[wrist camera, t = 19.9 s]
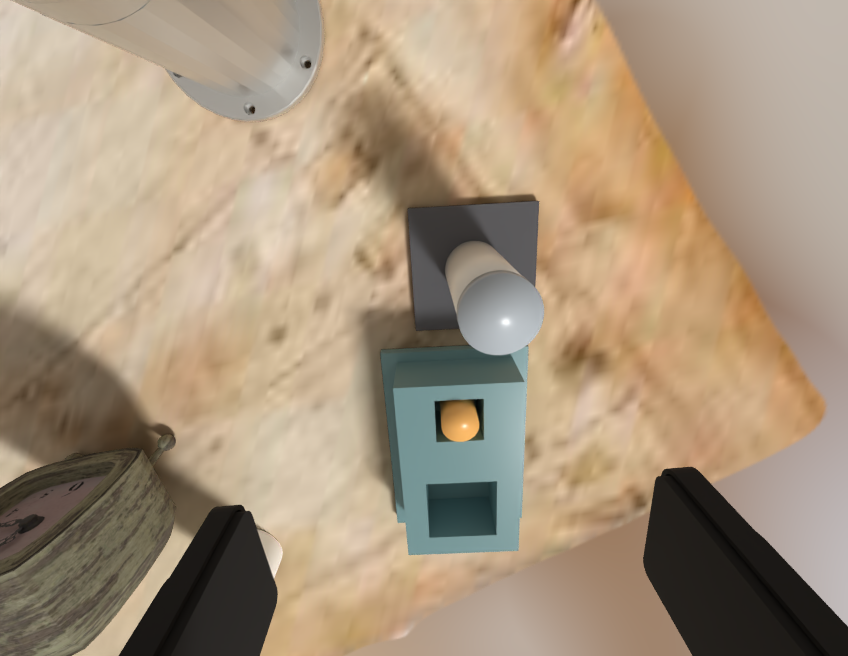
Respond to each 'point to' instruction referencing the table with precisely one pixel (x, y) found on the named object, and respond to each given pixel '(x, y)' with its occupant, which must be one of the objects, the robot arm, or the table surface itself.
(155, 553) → the tabletop clock
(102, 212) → the table surface
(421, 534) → the teal hollow block
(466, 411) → the orange egg shape
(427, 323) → the mat
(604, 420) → the table surface
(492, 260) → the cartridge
